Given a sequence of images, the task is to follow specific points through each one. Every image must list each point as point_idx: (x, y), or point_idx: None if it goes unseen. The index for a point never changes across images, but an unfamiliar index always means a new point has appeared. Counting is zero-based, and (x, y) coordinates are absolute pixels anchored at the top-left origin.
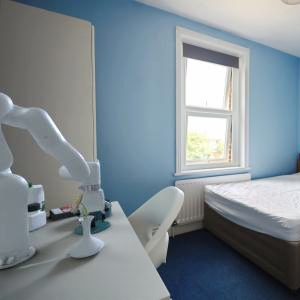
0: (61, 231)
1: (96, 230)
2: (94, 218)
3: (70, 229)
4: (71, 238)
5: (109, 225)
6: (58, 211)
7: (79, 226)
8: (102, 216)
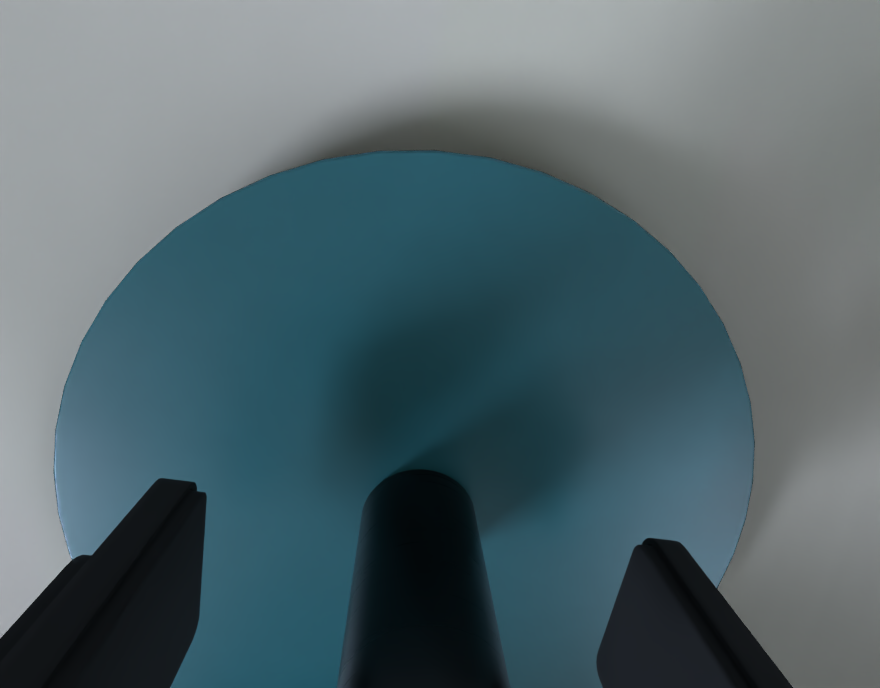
0: (825, 684)
1: (397, 243)
2: (382, 658)
3: None
4: (829, 294)
5: (76, 359)
6: None
7: None
8: (74, 626)
